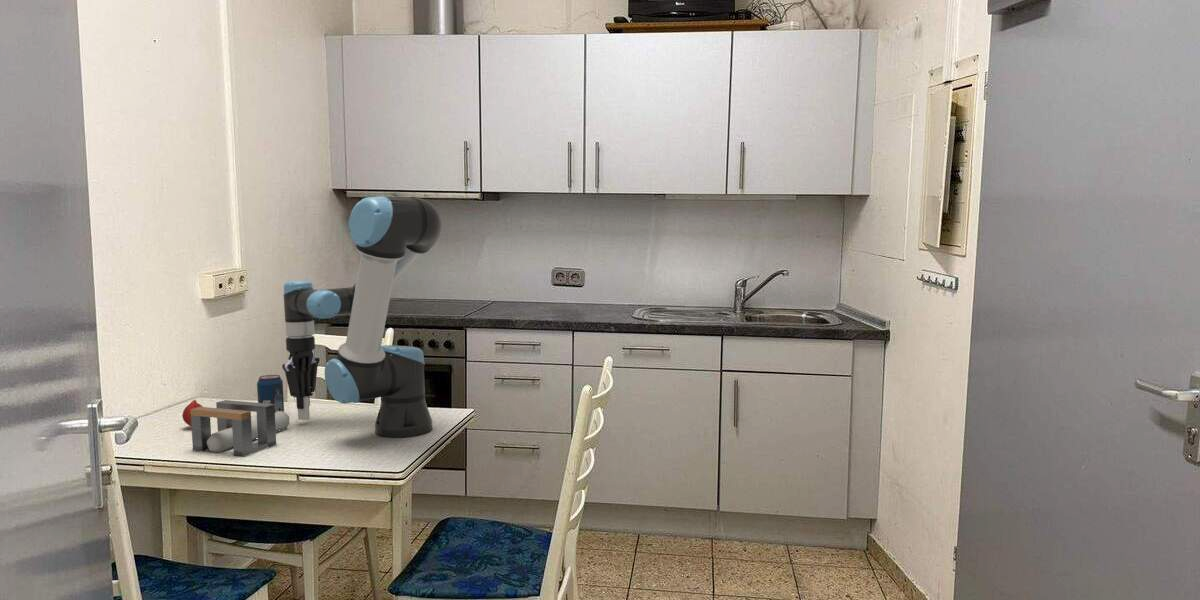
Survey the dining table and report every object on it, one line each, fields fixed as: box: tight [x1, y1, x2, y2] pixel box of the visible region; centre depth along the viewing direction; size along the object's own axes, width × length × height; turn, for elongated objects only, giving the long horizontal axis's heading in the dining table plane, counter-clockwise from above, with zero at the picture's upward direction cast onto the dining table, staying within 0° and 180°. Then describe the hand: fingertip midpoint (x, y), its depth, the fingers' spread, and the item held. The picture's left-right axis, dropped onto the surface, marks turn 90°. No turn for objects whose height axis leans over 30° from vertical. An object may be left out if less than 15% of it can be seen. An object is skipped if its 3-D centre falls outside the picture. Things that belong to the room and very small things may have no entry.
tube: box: [207, 411, 290, 453], centre depth 206 cm, size 5×5×25 cm
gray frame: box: [190, 399, 277, 457], centre depth 199 cm, size 16×11×10 cm
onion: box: [182, 399, 204, 428], centre depth 219 cm, size 6×6×8 cm
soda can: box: [256, 374, 285, 413], centre depth 231 cm, size 7×7×12 cm
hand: (303, 419), depth 223 cm, fingers closed
